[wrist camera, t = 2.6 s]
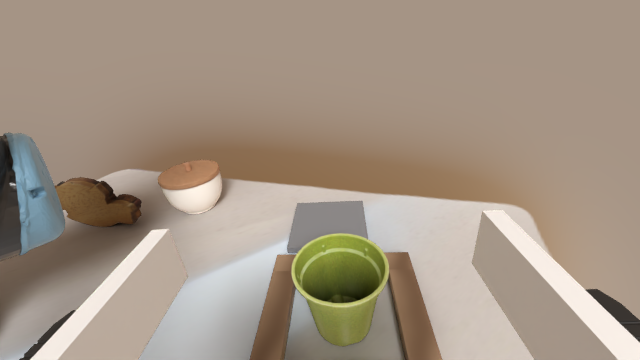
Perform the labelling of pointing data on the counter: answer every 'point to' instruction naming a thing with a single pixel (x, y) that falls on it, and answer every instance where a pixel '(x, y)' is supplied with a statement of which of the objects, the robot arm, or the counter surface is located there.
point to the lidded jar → (192, 185)
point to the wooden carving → (96, 203)
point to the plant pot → (341, 284)
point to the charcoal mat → (325, 222)
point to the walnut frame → (406, 297)
